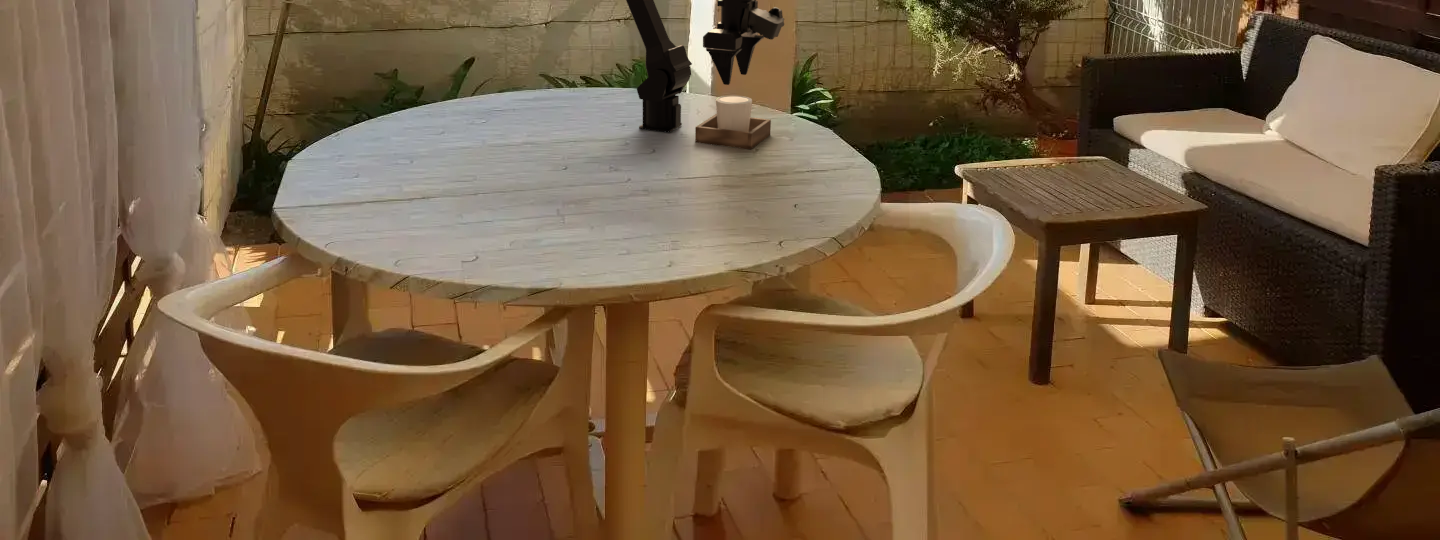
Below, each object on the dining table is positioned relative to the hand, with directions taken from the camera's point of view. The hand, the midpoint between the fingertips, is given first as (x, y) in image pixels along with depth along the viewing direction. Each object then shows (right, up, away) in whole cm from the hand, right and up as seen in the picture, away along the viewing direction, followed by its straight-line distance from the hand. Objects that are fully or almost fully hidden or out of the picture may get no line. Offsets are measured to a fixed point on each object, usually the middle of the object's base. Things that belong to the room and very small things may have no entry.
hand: (735, 79), depth 233 cm
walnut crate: (0, -11, +4) cm, 11 cm away
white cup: (0, -10, +4) cm, 11 cm away
